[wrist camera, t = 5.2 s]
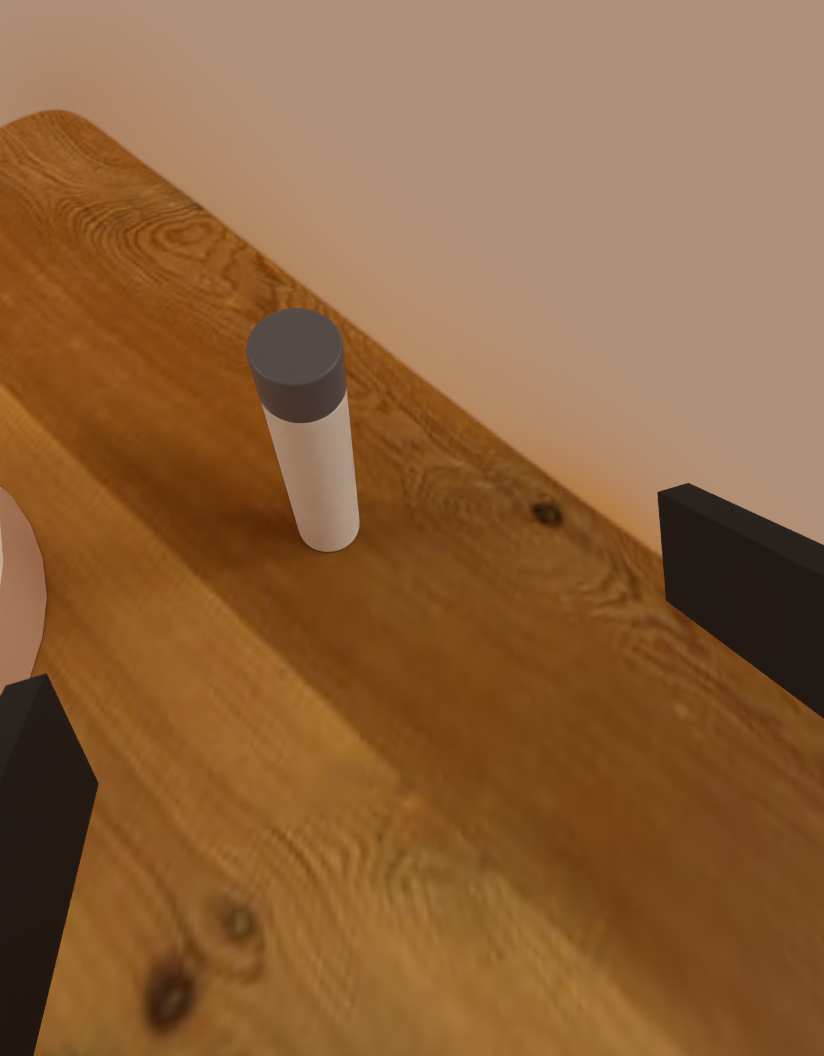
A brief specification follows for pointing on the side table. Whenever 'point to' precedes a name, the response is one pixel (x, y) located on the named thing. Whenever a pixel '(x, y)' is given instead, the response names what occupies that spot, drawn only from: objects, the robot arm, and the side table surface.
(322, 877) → the side table surface
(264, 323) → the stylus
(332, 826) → the side table surface
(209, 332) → the side table surface
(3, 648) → the bowl
